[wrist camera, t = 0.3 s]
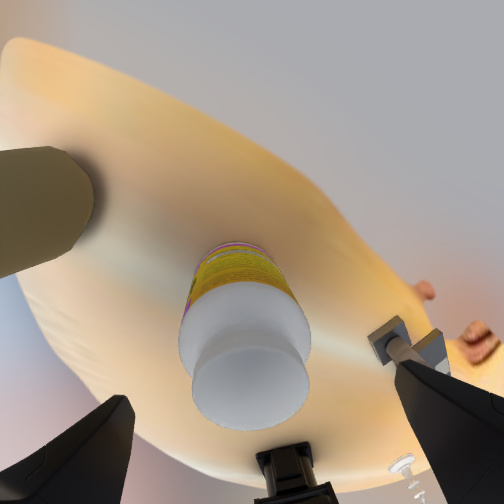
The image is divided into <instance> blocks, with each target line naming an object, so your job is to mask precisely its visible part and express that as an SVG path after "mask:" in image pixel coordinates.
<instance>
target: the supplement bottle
mask: <svg viewBox="0 0 504 504" xmlns="http://www.w3.org/2000/svg"><path fill="white" fill-rule="evenodd" d="M178 347H179V354H180V358H181V361H182V363H183V365H184V367H185V369H186V371H187V372H188V374H189V375H190V377H191V378H192V379H193V382H192V396H193V400H194V402H195V405H196V406H197V408H198V410H199V411H200V412H201V413H202V414H203V415H204V416H205V417H206V418H207V419H209V420H210V421H212V422H213V423H215V424H217V425H219V426H222V427H225V428H228V429H233V430H239V431H255V430H262V429H266V428H270V427H273V426H276V425H278V424H280V423H282V422H284V421H286V420H287V419H289V418H290V417H292V416H293V415H294V414H295V413H296V412H297V411H298V410H299V409H300V408H301V407H302V405H303V404H304V402H305V400H306V398H307V396H308V391H309V378H308V374H307V371H306V368H305V364H306V362H307V359H308V356H309V353H310V348H311V333H310V327H309V324H308V321H307V319H306V317H305V315H304V313H303V311H302V309H301V307H300V306H299V304H298V302H297V300H296V299H295V297H294V295H293V293H292V292H291V290H290V288H289V286H288V285H287V283H286V281H285V279H284V277H283V276H282V274H281V272H280V270H279V268H278V267H277V265H276V263H275V262H274V261H273V259H272V258H271V257H270V256H269V255H268V254H267V253H266V252H265V251H263V250H262V249H260V248H259V247H256V246H254V245H251V244H248V243H242V242H233V243H227V244H224V245H221V246H218V247H216V248H214V249H213V250H211V251H210V252H209V253H208V254H206V255H205V256H204V258H203V259H202V260H201V261H200V263H199V265H198V267H197V269H196V271H195V274H194V278H193V281H192V285H191V288H190V292H189V296H188V300H187V304H186V308H185V312H184V316H183V319H182V323H181V327H180V331H179V338H178Z"/></svg>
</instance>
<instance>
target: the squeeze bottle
mask: <svg viewBox="0 0 504 504" xmlns="http://www.w3.org/2000/svg"><path fill="white" fill-rule="evenodd" d="M93 207H94V188H93V186H92V183H91V181H90V178H89V176H88V175H87V174H86V173H85V172H84V170H83V169H82V168H81V167H80V166H79V165H78V164H77V163H76V162H75V161H74V160H73V159H72V158H71V157H70V156H69V155H68V154H67V153H66V152H65V151H62V150H59V149H56V148H53V147H50V146H46V147H34V148H23V149H13V150H5V151H0V278H3V277H6V276H8V275H11V274H14V273H16V272H19V271H22V270H25V269H27V268H30V267H33V266H36V265H38V264H41V263H44V262H47V261H50V260H53V259H56V258H57V257H59V256H61V255H62V254H64V253H66V252H68V251H69V250H71V248H72V247H73V245H74V244H75V242H76V241H77V239H78V238H79V237H80V235H81V234H82V232H83V230H84V228H85V227H86V225H87V223H88V221H89V219H90V218H91V214H92V210H93Z"/></svg>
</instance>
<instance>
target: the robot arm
mask: <svg viewBox="0 0 504 504" xmlns="http://www.w3.org/2000/svg"><path fill="white" fill-rule="evenodd" d="M395 387H396V390H397V392H398V395H399V397H400V400H401V403H402V405H403V408H404V411H405V414H406V416H407V419H408V421H409V423H410V425H411V427H412V429H413V431H414V433H415V435H416V437H417V439H418V441H419V443H420V445H421V447H422V449H423V451H424V453H425V455H426V457H427V459H428V462H429V464H430V466H431V468H432V470H433V472H434V474H435V476H436V478H437V481H438V483H439V485H440V487H441V489H442V492H443V494H444V496H445V498H446V501H447V503H448V504H504V397H501V396H498V395H496V394H493V393H489V392H488V391H485V390H483V389H480V388H478V387H475V386H473V385H471V384H468V383H466V382H463V381H461V380H458V379H456V378H454V377H451V376H449V375H446V374H444V373H442V372H439V371H437V370H435V369H432V368H430V367H428V366H425V365H423V364H421V363H418V362H416V361H414V360H411V359H407V360H403V361H400V362H399V363H398V365H397V370H396V376H395ZM134 424H135V412H134V410H133V408H132V406H131V404H130V402H129V400H128V398H127V397H126V396H125V395H113V396H112V397H111V398H109V399H108V400H107V401H105V402H104V403H103V404H101V405H100V406H99V407H97V408H96V409H94V410H93V411H92V412H90V413H89V414H88V415H86V416H85V417H84V418H82V419H81V420H79V421H78V422H77V423H75V424H74V425H73V426H71V427H70V428H68V429H67V430H66V431H64V432H63V433H62V434H60V435H59V436H57V437H56V438H54V439H53V440H52V441H50V442H49V443H47V444H46V446H43V447H42V448H40V449H39V450H38V451H36V452H34V453H33V454H31V455H30V456H28V457H26V458H25V459H23V460H21V461H19V462H18V463H16V464H14V465H12V466H10V467H8V468H7V469H5V470H3V471H1V472H0V504H120V501H121V496H122V491H123V487H124V482H125V477H126V473H127V468H128V463H129V460H130V455H131V449H132V440H133V432H134ZM256 459H257V461H258V464H259V466H260V468H261V470H262V473H263V475H264V477H265V479H266V484H267V490H268V496H269V497H268V498H262V499H259V498H258V499H254V504H339V503H338V500H337V498H336V495H335V493H334V490H333V488H332V485H331V483H330V481H329V482H326V483H325V484H321V485H317V482H316V479H315V476H314V473H313V469H312V468H313V467H314V466H313V460H312V454H311V448H310V444H309V443H308V442H306V443H302V444H298V445H294V446H290V447H286V448H281V449H277V450H272V451H268V452H263V453H258V454H256Z"/></svg>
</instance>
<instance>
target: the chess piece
mask: <svg viewBox="0 0 504 504" xmlns="http://www.w3.org/2000/svg"><path fill="white" fill-rule="evenodd" d="M414 459H415V457H414V454H406V455H404V456H402V457H400V458H398V459H397V460H395V461H394V462H393V463H392V464H391V465H390V466H389V468H388V471H390V473H398V472H399V473H402V475H403V476H404V477H405V478H406V480H407V481H408V482H409V483H410V486H408V489H413V498H418V497H419V498H420V502H422V504H424V503H425V500H424V499H425V498H424V496H422V495H423V494H424V492H425V491H424V490H423V489H422V488H420V487H419V486H418V484H419V483H420V481H416V482H415V480H414V477H413V475H412V472H411V469H410V466H411V464H412V463H413V461H414Z"/></svg>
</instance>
